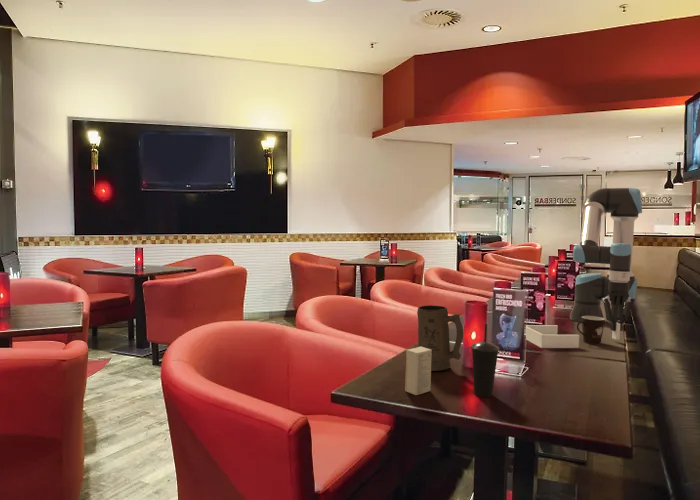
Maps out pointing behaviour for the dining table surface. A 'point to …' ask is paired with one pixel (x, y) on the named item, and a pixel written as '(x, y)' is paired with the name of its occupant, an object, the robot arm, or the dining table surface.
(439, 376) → the dining table surface
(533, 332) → the cream u-shaped bracket
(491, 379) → the drinking cup
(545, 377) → the dining table surface
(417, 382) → the skincare box
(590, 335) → the dark brown mug
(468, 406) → the dining table surface
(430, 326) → the beer stein
